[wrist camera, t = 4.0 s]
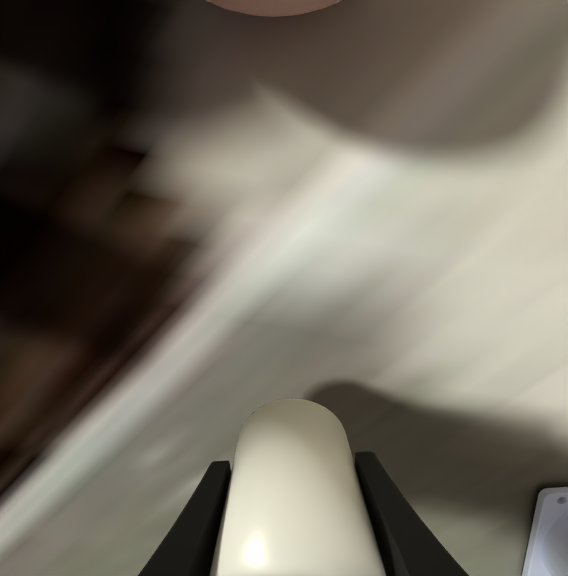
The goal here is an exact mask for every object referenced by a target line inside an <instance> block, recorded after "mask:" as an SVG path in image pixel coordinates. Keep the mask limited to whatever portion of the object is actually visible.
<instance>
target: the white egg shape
mask: <svg viewBox="0 0 568 576" xmlns="http://www.w3.org/2000/svg"><path fill="white" fill-rule="evenodd" d="M209 576H386V573H385V569H384V566H383V562H382V559H381V555H380V552H379V548H378V545H377V541H376V538H375V534H374V531H373V527H372V524H371V520H370V517H369V513H368V510H367V506H366V503H365V499H364V496H363V492H362V489H361V485H360V482H359V478H358V475H357V471H356V468H355V464H354V461H353V457H352V454H351V450H350V447H349V443H348V440H347V436H346V433H345V430H344V428H343V425H342V424H341V422H340V421H339V419H338V418H337V417H336V416H335V415H334V414H333V413H332V412H331V411H330V410H328V409H327V408H325V407H324V406H322V405H320V404H317V403H315V402H312V401H308V400H303V399H283V400H278V401H274V402H271V403H268V404H266V405H264V406H262V407H260V408H259V409H257V410H256V411H255V412H254V413H252V414H251V415H250V416H249V418H248V419H247V420H246V421H245V423H244V424H243V426H242V428H241V431H240V434H239V438H238V443H237V448H236V452H235V457H234V462H233V466H232V471H231V476H230V481H229V485H228V490H227V495H226V500H225V504H224V509H223V514H222V518H221V523H220V528H219V533H218V537H217V542H216V547H215V552H214V556H213V561H212V566H211V570H210V575H209Z"/></svg>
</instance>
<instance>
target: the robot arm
mask: <svg viewBox="0 0 568 576" xmlns="http://www.w3.org/2000/svg"><path fill="white" fill-rule="evenodd" d="M355 468H356V471H357V475H358V478H359V482H360V485H361V489H362V492H363V496H364V499H365V503H366V506H367V510H368V513H369V517H370V520H371V524H372V527H373V531H374V534H375V538H376V541H377V545H378V548H379V552H380V555H381V559H382V562H383V566H384V569H385V573H386V576H469V575H468V574H467V573H466V572H465V571H464V570H463V569H462V567H461V566H460V565H459V564H458V563H457V562H456V561H455V560H454V558H453V557H452V556H451V555H450V554H449V553H448V551H447V550H446V549H445V548H444V547H443V546H442V544H441V543H440V542H439V541H438V540H437V538H436V537H435V536H434V535H433V534H432V532H431V531H430V530H429V529H428V528H427V526H426V525H425V524H424V523H423V521H422V520H421V519H420V518H419V516H418V515H417V514H416V512H415V511H414V510H413V508H412V507H411V506H410V504H409V503H408V502H407V501H406V499H405V498H404V497H403V495H402V494H401V492H400V491H399V490H398V488H397V487H396V486H395V484H394V483H393V481H392V480H391V478H390V477H389V476H388V474H387V473H386V471H385V470H384V468H383V467H382V465H381V464H380V462H379V461H378V459H377V457H376V456H375V454H374V453H373V452H358V453H355ZM230 476H231V469H230V463H229V461H214V462H212V463H211V464H210V466H209V468H208V469H207V471H206V473H205V475H204V476H203V478H202V480H201V482H200V483H199V485H198V487H197V488H196V490H195V492H194V493H193V495H192V497H191V498H190V500H189V501H188V503H187V505H186V506H185V508H184V509H183V511H182V512H181V514H180V516H179V517H178V519H177V520H176V522H175V523H174V525H173V526H172V528H171V529H170V531H169V532H168V534H167V535H166V537H165V538H164V540H163V541H162V542H161V544H160V545H159V547H158V548H157V550H156V551H155V553H154V554H153V555H152V557H151V558H150V560H149V561H148V562H147V564H146V565H145V567H144V568H143V569H142V571H141V572H140V573H139V575H138V576H209V575H210V570H211V566H212V561H213V556H214V552H215V547H216V542H217V537H218V533H219V528H220V523H221V518H222V514H223V509H224V504H225V500H226V495H227V490H228V485H229V481H230ZM522 576H568V487H557V488H546V489H543V490H541V491H540V492H539V495H538V499H537V504H536V509H535V514H534V519H533V524H532V529H531V533H530V538H529V543H528V548H527V553H526V558H525V563H524V567H523V572H522Z"/></svg>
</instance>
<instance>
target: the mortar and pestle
mask: <svg viewBox="0 0 568 576" xmlns="http://www.w3.org/2000/svg"><path fill="white" fill-rule="evenodd" d="M205 1H207V2H210V3H212V4H215V5H217V6H219V7H222V8H224V9H227V10H232V11H236V12H240V13H245V14H249V15H256V16H268V17H278V16H292V15H300V14H304V13H308V12H312V11H316V10H320V9H324V8H326V7H328V6H331V5H333V4H335V3H338V2H340V1H342V0H205Z"/></svg>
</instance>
